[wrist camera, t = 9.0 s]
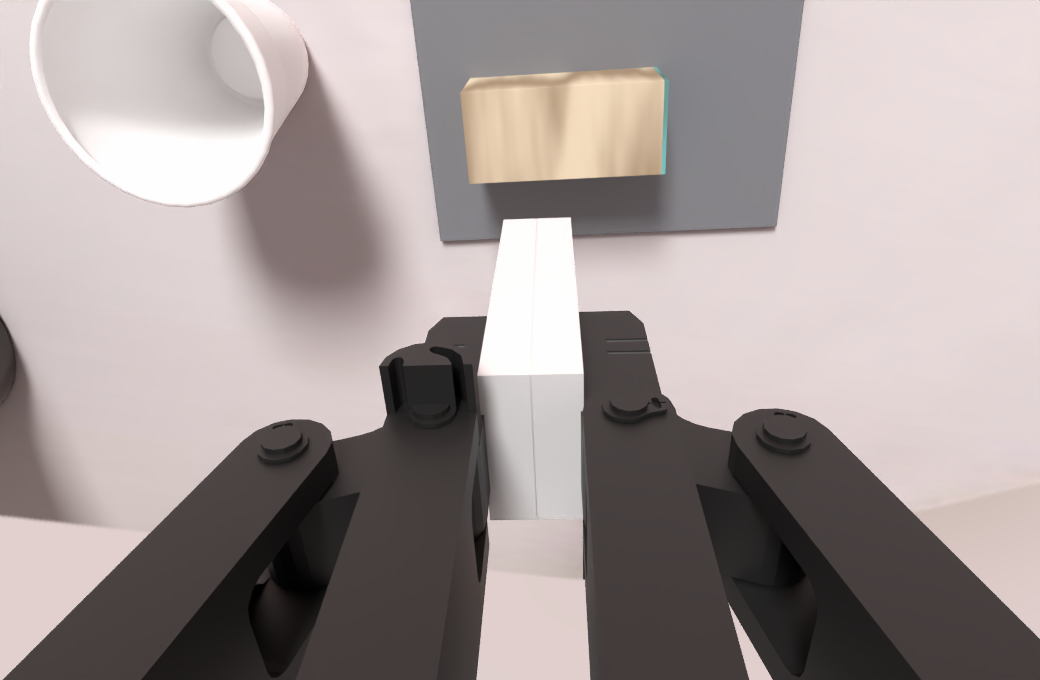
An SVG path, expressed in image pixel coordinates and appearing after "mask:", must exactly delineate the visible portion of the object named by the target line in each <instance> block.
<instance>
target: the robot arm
mask: <svg viewBox="0 0 1040 680" xmlns="http://www.w3.org/2000/svg"><path fill="white" fill-rule="evenodd" d="M379 369H380V375H381V381H382V387H383V392H384V398H385V404H386V410H387V417H386V420H385V422H384V425H383V427H381V428H379V429H377V430H375V431H373V432H370V433H366V434H363V435H359V436H355V437H351V438H346V439H341V440H337V441H332V436H331V432H330V431H329V430H328V429H327V428H326V427H325V426H324V425H323V424H321V423H318V422H315V421H311V420H286V421H281V422H277V423H273V424H271V425H269V426H266V427H264V428H262V429H259V430H257V431H255V432H254V433H253V434H251V435H250V436H249V437H247V438H246V439H245V440H243V441H242V442H241V443H240V444H239V445H238V446H237V447H236V448H235V449H234V450H233V451H232V452H231V453H230V454H229V455H228V456H227V457H226V458H225V459H224V460H223V461H222V462H221V463H220V464H219V465H218V466H217V467H216V468H215V469H214V470H213V471H212V472H211V473H210V474H209V475H208V476H207V477H206V478H205V479H204V480H203V481H202V482H201V483H200V484H199V485H198V486H197V487H196V488H195V489H194V490H193V491H192V492H191V493H190V494H189V495H188V496H187V497H186V498H185V499H184V500H183V501H182V502H181V503H180V504H179V505H178V506H177V507H176V508H175V509H174V510H173V511H172V512H171V513H170V514H169V515H168V516H167V517H166V518H165V519H164V520H163V521H162V522H161V523H160V524H159V525H158V526H157V527H156V528H155V529H154V530H153V531H152V532H151V533H150V534H149V535H148V536H147V537H146V538H145V539H144V540H143V541H142V542H141V543H140V544H139V545H138V546H137V547H136V548H135V549H134V550H133V551H132V552H131V553H130V554H129V555H128V556H127V557H126V558H125V559H124V560H123V561H122V562H121V563H120V564H119V565H118V566H117V567H116V568H115V569H114V570H113V571H112V572H111V573H110V574H109V575H108V576H107V577H106V578H105V579H104V580H103V581H102V582H101V583H100V584H99V585H98V586H97V587H96V588H95V589H94V590H93V591H92V592H91V593H90V594H89V595H87V596H86V597H85V598H84V599H83V601H81V603H79V604H78V605H77V606H76V607H75V608H74V609H73V610H72V611H71V612H70V614H68V615H67V616H66V618H64V620H62V621H61V622H60V623H59V625H57V626H56V628H54V629H53V630H52V631H51V632H50V633H49V634H48V635H47V636H46V637H45V638H44V640H42V641H41V642H40V643H39V644H38V645H37V646H36V647H35V648H34V649H33V650H32V651H31V652H30V653H29V654H28V655H27V656H26V657H25V658H24V659H23V660H22V661H21V662H20V663H19V664H18V665H17V666H16V667H15V668H14V669H13V670H12V671H11V672H10V673H9V674H8V675H7V676H6V677H5V678H4V679H3V680H476V677H477V667H478V656H479V646H480V636H481V625H482V615H483V604H484V594H485V584H486V573H487V563H488V553H489V537H488V526H487V516H488V507H489V511H490V520H546V519H583V579H585V587H586V604H587V622H588V642H589V659H590V678H591V680H749V677H748V674H747V670H746V667H745V663H744V659H743V655H742V652H741V648H740V645H739V641H738V637H737V633H736V630H735V626H734V622H733V619H732V616H731V611H730V608H729V604H730V606H731V608H732V610H733V611H734V613H735V615H736V616H737V618H738V620H739V622H740V623H741V625H742V627H743V629H744V630H745V632H746V634H747V636H748V637H749V639H750V641H751V642H752V644H753V646H754V648H755V649H756V651H757V653H758V654H759V656H760V658H761V660H762V662H763V663H764V665H765V667H766V669H767V670H768V672H769V674H770V675H771V677H772V679H773V680H1040V639H1039V638H1038V637H1037V636H1036V635H1035V634H1034V633H1033V632H1032V631H1031V630H1030V629H1029V628H1028V627H1027V626H1026V625H1025V624H1024V623H1023V622H1022V621H1021V620H1020V619H1019V618H1018V617H1017V616H1016V615H1015V614H1014V613H1013V612H1012V611H1011V610H1010V609H1009V608H1008V607H1007V606H1006V605H1005V604H1004V603H1003V602H1002V601H1001V600H1000V599H999V598H998V597H997V596H996V595H995V594H994V593H993V592H992V591H991V590H990V589H989V588H988V587H987V586H986V585H985V584H984V583H983V582H982V581H981V580H980V579H979V578H978V577H977V576H976V575H975V574H974V573H973V572H972V571H971V570H970V569H969V568H968V567H967V566H966V565H965V564H964V563H963V562H962V561H961V560H960V559H959V558H958V557H957V556H956V555H955V554H954V553H953V552H952V551H951V550H950V549H948V547H947V546H946V545H945V544H944V543H943V542H942V541H941V540H939V538H938V537H937V536H935V534H934V533H933V532H932V531H930V530H929V528H927V527H926V526H925V525H924V524H923V523H922V522H921V521H920V520H919V519H918V518H917V517H916V516H915V515H914V514H913V513H912V512H911V511H910V510H909V509H908V508H907V507H906V506H905V505H904V504H903V503H902V502H901V501H900V500H899V499H898V498H897V497H896V496H895V495H894V494H893V493H892V492H891V491H890V490H889V489H888V488H887V487H886V486H885V485H884V484H883V483H882V482H881V481H880V480H879V479H878V478H877V477H876V476H875V475H874V474H873V473H872V472H871V471H870V470H869V469H868V468H867V467H866V466H865V465H864V464H863V463H862V462H861V461H860V460H859V459H858V458H857V457H856V456H855V455H854V454H853V453H852V452H851V451H850V450H849V449H848V448H847V447H846V446H845V445H844V444H843V443H842V442H841V441H840V440H839V439H838V438H837V437H836V436H835V435H834V434H833V433H832V432H831V431H830V430H829V429H828V428H826V427H825V426H823V425H822V424H821V423H819V422H818V421H816V420H815V419H813V418H811V417H808V416H806V415H803V414H800V413H798V412H794V411H789V410H784V409H758V410H755V411H752V412H749V413H745V414H743V415H742V416H741V417H740V418H739V419H737V420H736V421H735V422H734V425H733V430H732V432H730V431H724V430H719V429H714V428H708V427H705V426H701V425H697V424H694V423H692V422H689V421H687V420H684V419H682V418H681V417H679V416H678V415H677V414H676V410H675V408H674V406H673V404H672V403H671V401H670V400H669V399H668V398H667V397H665V396H664V395H662V394H661V390H660V386H659V382H658V378H657V375H656V371H655V367H654V363H653V359H652V355H651V353H650V347H649V343H648V341H647V336H646V332H645V328H644V324H643V323H642V322H641V321H640V320H639V319H638V318H637V317H636V316H634V315H633V314H632V313H631V312H630V311H602V312H579V311H578V299H577V287H576V275H575V263H574V251H573V240H572V228H571V217H569V218H538V219H508V220H503V226H502V232H501V238H500V244H499V250H498V256H497V262H496V268H495V274H494V280H493V286H492V292H491V298H490V303H489V309H488V315H487V316H481V317H444V318H443V319H441V320H440V321H439V322H438V323H437V324H436V325H435V326H434V327H432V328H431V329H430V330H429V332H428V335H427V338H426V341H425V343H422V344H414V345H411V346H408V347H405V348H402V349H399V350H397V351H396V352H394V353H392V354H391V355H389V356H387V357H386V358H385V359H384V361H383V362H382V363H381V365H380V366H379ZM14 376H15V360H14V354H13V349H12V345H11V342H10V339H9V337H8V334H7V332H6V330H5V328H4V326H3V324H2V322H1V320H0V405H1V404H2V403H3V402H4V400H5V399H6V398H7V396H8V394H9V392H10V390H11V388H12V385H13V381H14ZM728 603H729V604H728Z"/></svg>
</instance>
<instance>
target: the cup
mask: <svg viewBox="0 0 1040 680" xmlns="http://www.w3.org/2000/svg"><path fill="white" fill-rule="evenodd" d="M29 49H30V59H31V68H32V74H33V78H34V81H35V85H36V88H37V92H38V95H39V98H40V100H41V102H42V104H43V107H44V109H45V111H46V113H47V115H48V117H49V119H50V121H51V123H52V124H53V126H54V127H55V129H56V130H57V132H58V133H59V135H60V136H61V138H62V139H63V141H64V142H65V143H66V145H67V146H68V147H69V148H70V149H71V150H72V151H73V152H74V153H75V155H76V156H77V157H78V158H79V159H80V160H81V161H82V162H83V163H84V164H85V165H86V166H87V167H89V168H90V169H91V170H92V171H93V172H95V173H96V174H97V175H98V176H99V177H101V178H102V179H103V180H105V181H107V182H108V183H110V184H112V185H113V186H115V187H116V188H118V189H120V190H121V191H123V192H125V193H128V194H130V195H132V196H135V197H137V198H140V199H142V200H144V201H148V202H152V203H156V204H161V205H165V206H174V207H195V206H202V205H208V204H212V203H215V202H217V201H220V200H222V199H225V198H228V197H230V196H231V195H233V194H234V193H236V192H237V191H239V190H240V189H241V188H243V187H244V186H246V185H247V184H248V182H249V181H250V180H251V179H252V178H253V177H254V176H255V175H256V174H257V172H258V171H259V170H260V168H261V166H262V164H263V162H264V160H265V159H266V157H267V155H268V153H269V149H270V146H271V142H272V140H273V138H274V136H275V134H276V133H277V131H278V130H279V128H280V127H281V125H282V123H283V122H284V120H285V119H286V117H287V116H288V114H289V113H290V111H291V110H292V108H293V107H294V105H295V104H296V102H297V101H298V99H299V97H300V96H301V94H302V92H303V90H304V88H305V85H306V82H307V78H308V68H309V64H308V54H307V50H306V47H305V43H304V41H303V39H302V36H301V34H300V32H299V30H298V29H297V27H296V26H295V24H294V23H293V22H292V20H291V19H290V18H289V17H288V16H287V15H286V14H285V13H284V12H283V11H282V10H281V9H280V8H278V7H277V6H276V5H274V4H273V3H272V2H269V1H267V0H40V1H39V3H38V6H37V9H36V12H35V15H34V18H33V21H32V25H31V35H30V46H29Z"/></svg>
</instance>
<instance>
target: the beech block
mask: <svg viewBox="0 0 1040 680" xmlns="http://www.w3.org/2000/svg"><path fill="white" fill-rule="evenodd" d="M668 91H669V80H668V79H667V78H666V77H665V76H664V74H663V73H662V72H661V71H660V70H659V69H658V68H657V67H646V68H630V69H613V70H597V71H580V72H564V73H547V74H531V75H514V76H498V77H481V78H470V79H469V81H468V82H467V84H466V85H465V87H464V88H463V89H462V91H461V92H460V96H461V106H462V116H463V125H464V135H465V145H466V155H467V165H468V175H469V184H478V183H498V182H518V181H538V180H558V179H578V178H599V177H619V176H639V175H659V174H665V168H666V142H667V116H668Z"/></svg>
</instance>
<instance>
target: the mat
mask: <svg viewBox="0 0 1040 680" xmlns="http://www.w3.org/2000/svg"><path fill="white" fill-rule="evenodd" d="M410 3H411V10H412V18H413V26H414V34H415V42H416V50H417V58H418V66H419V74H420V82H421V90H422V98H423V105H424V113H425V121H426V129H427V137H428V145H429V153H430V161H431V169H432V177H433V185H434V192H435V200H436V208H437V216H438V224H439V232H440V240H441V241H456V240H478V239H500V238H501V232H502V226H503V220H508V219H538V218H569V217H571V228H572V235H591V234H614V233H637V232H659V231H682V230H705V229H727V228H750V227H772V226H777V218H778V210H779V201H780V193H781V185H782V177H783V169H784V160H785V152H786V144H787V136H788V128H789V120H790V111H791V103H792V95H793V87H794V79H795V70H796V62H797V54H798V46H799V38H800V29H801V21H802V13H803V5H804V0H410ZM646 67H657V68H658V69H659V70H660V71H661V72H662V73H663V74H664V76H665V77H666V78H667V79H668V80H669V91H668V116H667V142H666V168H665V174H659V175H639V176H619V177H599V178H578V179H558V180H538V181H518V182H498V183H478V184H469V175H468V165H467V155H466V145H465V135H464V125H463V116H462V106H461V96H460V92H461V91H462V89H463V88H464V87H465V85H466V84H467V82H468V81H469V79H470V78H481V77H498V76H514V75H531V74H547V73H564V72H580V71H597V70H613V69H630V68H646Z"/></svg>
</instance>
